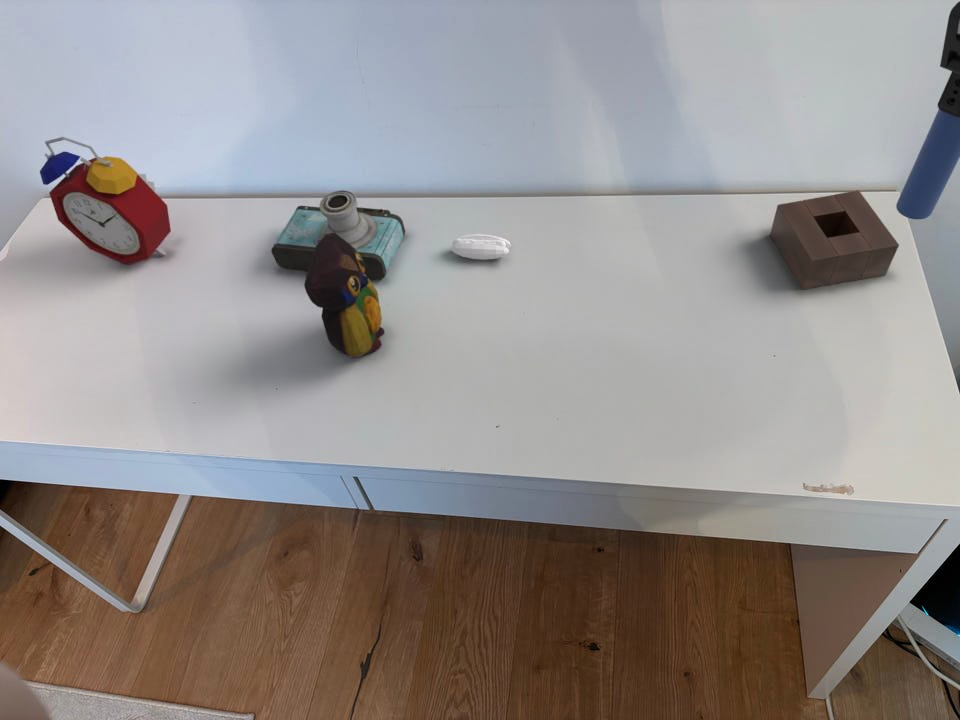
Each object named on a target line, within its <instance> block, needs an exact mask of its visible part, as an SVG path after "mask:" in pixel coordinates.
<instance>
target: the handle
mask: <svg viewBox="0 0 960 720" xmlns="http://www.w3.org/2000/svg"><path fill="white" fill-rule="evenodd" d="M959 160H960V118H957V117H955V116H952V115H950V114H948V113H945V112H943V111H941V110H940V109H939V108H938V110H937V112H936V115H935V117H934V119H933V121H932V123H931V125H930V128H929V130H928V132H927V135H926V136H925V139H924V142H923V143H922V146H921V147H920V150H919V153H918V154H917V157H916V160H915V161H914V163H913V165H912V168H911V170H910V172H909V174H908V177H907V179H906V181H905V183H904V186H903V188H902V190H901V193H900V195H899V198H898V200H897V201H896V205H895V208H896V211H897V212H898V214H900V215H901V216H903V217H905V218H907V219H911V220H924V219H927V218H929V217H930V216H931V215H932V214H933V212H934V211H935V208H936V205H937V204H938V202H939V199H940V198H941V196H942V194H943V192H944V190H945V188H946V186H947V184H948V182H949V180H950V178H951V176H952V175H953V172H954V170H955V168H956V166H957V164H958V162H959Z"/></svg>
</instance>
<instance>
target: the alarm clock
mask: <svg viewBox="0 0 960 720" xmlns="http://www.w3.org/2000/svg"><path fill="white" fill-rule="evenodd" d="M61 141H66V142H69V143H73V144H75V145H78V146H81V147H84V148H87V149H89V151H90V152H91V153H92V155H93V156H94V157H93V158H91V159H89V160H87V159H86V158H84V157H82V156H80V155H79V154H74V153H73V152H72V153H71V152H69V151H65V150H64V151H60V152H58V153H57V154H56V153H55V151H54V150H53V148H52V146H51V145H50V144H54V143H58V142H61ZM44 143H45V146H46V147H47V149H48V150H49V152H50V154H48V153H47V152H46V153H45V154H44V157H45V158H46V162H45V163H44V165H43V166H42V167H41V169H40V170H39V175H40V178H41V182H42V185H44V186H48V185H50V184H51V183H53V182H55V181H56V180H58V179H59V178H61V177H62V176H63V175H64V177H63V178H62V179H61V180H60V181H59V182H58V183H57V184H56V185H55V186H54V187H53V188H52V189H51V190H50V191H49V192H48V193H49V196H50V199H51V202H52V206H53V209H54V211H55V214H56V217H57V221H58V222H60V224H61V225H63V226H64V227H65V228H66V229H67V230H68V231H69V232H70V233H71V234H72V235H73V236H74V237H76V238H77V239H78V240H79V241H80V242H81V243H82V244H84V246H86V248H87V249H88V250H90V251H93V252H95V253H97V254H100V255H102V256H104V257H107V258H110V259H112V260H113V261H116V262H119V263H120V264H123V265H131V264H135V263H138V262H142V261H145V260H148V259H149V260H150V257H151V256H152V255H153V254H154V253H156V254H157V255H160V256H162V257H165V256H166V255H167V252H166V251H165V250H164V249H163V248H162V247H161V244H162V243H163V242H164V241H165V239H166V238H167V237H168V235H169V234H170V233H171V232H172V230H171V223H170V215H169V209H168V204H167V203H165V201H164V200H163V199H162V198H161V197H160V196H159V195H158V194H157V193H156V188H155V187H156V186H155V182H154V181H149V180H148V179H147V174H146V173H145V174H144V173H138V172H137V171H136V170H135V169H134V168H133V167H132V166H131V165H130V164H129V163H128V162H127V161H126V160H124V159H122V158H121V157H115V156H107V155H105V156H104V157H100V156H98V154H97V153H96V151H95V149H94V148H93V147H92V146H91V145H89V144H85V143H82V142H80V141H78V140H77V141H76V140H73V139H71V138H68V137H65V136H60V137H57V138H53V139H49V140H46V141H44ZM78 161H81V162H82V163H80V164H77V162H78ZM76 164H77V165H76ZM70 169H71V170H70ZM69 170H70V171H69ZM68 171H69V172H68ZM67 172H68V173H67Z"/></svg>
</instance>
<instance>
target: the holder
mask: <svg viewBox="0 0 960 720" xmlns="http://www.w3.org/2000/svg"><path fill="white" fill-rule="evenodd" d="M769 235H770V237H771V239H772V241H773V242H774V243H775V245H776V247H777V249H778V250H779V252H780V254H781V257H783V259H784V262H785V263H786V264H787V266H788V268H789V269H790V271H791V273H792V275H793V276H794V278H795V280H796V282H797V283H798V285H799V286H800V288H801V290H808V289H814V288H815V289H816V288H819V287H825V286H831V285H836V284H842V283H847V282H848V283H849V282H853V281H858V280H865V279H871V278H876V277H883V276H886V275H887V273H888V271H889V269H890V266H891V264H892V262H893V260H894V258H895V255H896V253H897V251H898V249H899V246H900V244H899V243H898V242H897V240H896V238H894V236H893V235H892V233H891V232H890V230H889V229H888V228H887V226H886V225H885V223H884V222H883V221H882V219H880V217H879V215H878V214H877V213H876V211H875V210H874V209H873V208H872V206H871V205H870V203H869V202H868V200H867V199H866V198H865V196H864V195H863V194H862V193H861V191H860V190H853V191H847V192H841V193H836V194H835V193H834V194H831V195H825V196H820V197H819V196H818V197H813V198H808V199H807V198H806V199H803V200H796V201H791V202H785V203H779V204H777V206H776V210H775V213H774V218H773V222H772V225H771V230H770V233H769Z"/></svg>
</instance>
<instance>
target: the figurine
mask: <svg viewBox="0 0 960 720" xmlns="http://www.w3.org/2000/svg"><path fill="white" fill-rule="evenodd" d="M364 273H365V267H364V263H363V260H362V258H361V256H360V254H359V253H358V252H357V251H356V249H355V248H354V247H352V246H351V245H350V244H349V243H348V242H346V241H345V240H344V239H342V238H341V237H340V236H339V235H337V234H336V233H335V232H334V233H330V234H326V235H325V236H324V237H323V238H322V240H321V241H320V242H319V243H318V244H317V246H316V248H315V251H314V254H313V257H312V259H311V262H310V264H309V266H308V271H306V277H305V280H304V284H303V286H304V289H305V293H306V294H307V297H308V298H309V300H310V302H311V303H312V304H313V305H315V306H316V307H317V308H321V309H322V310H321V320H322V323H323V327H324V330H325V334H326V337H327V340H328V343H329V344H330V345H331V347H333V348H334V349H335V350H336V351H337V352H339V353H341V354H343V355H344V356H346V357H349V358H351V357H352V358H355V357H356V358H359V357H362V356H364V355H367V354H369V353H373V352H376V351H379V350H380V348H381V347H382V345H383V343H382V341H381V340H380V338H381V337H383V336H384V335H385V329H384V328H383V327H382V326H381V325H382V319H383V318H382V310H381V305H380V300H379V299H380V298H379V293H378V290H377V289H376V287H375V286H374V284H373V283H372V281H371V279H369V278H368V277H367V276H366V275H365V274H364Z"/></svg>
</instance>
